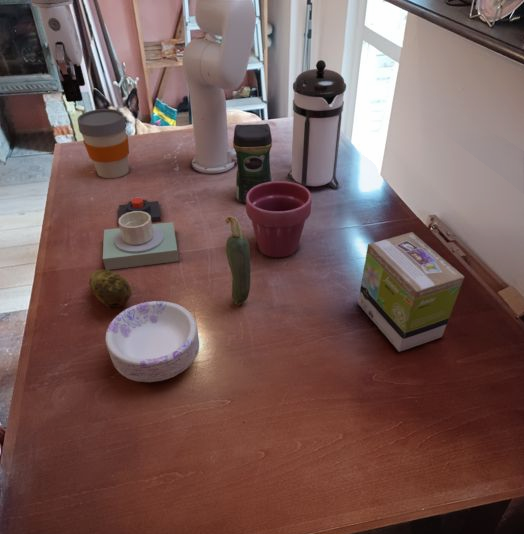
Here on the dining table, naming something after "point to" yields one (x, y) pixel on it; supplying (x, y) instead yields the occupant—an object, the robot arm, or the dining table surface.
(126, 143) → the reusable coffee cup
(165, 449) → the dining table surface
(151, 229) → the bowl
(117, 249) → the scale
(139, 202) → the tare button
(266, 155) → the coffee jar
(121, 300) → the potato
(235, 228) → the vegetable
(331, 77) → the coffee press
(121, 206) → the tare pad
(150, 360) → the paper bowls
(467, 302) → the dining table surface
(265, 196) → the flower pot
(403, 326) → the tea box
